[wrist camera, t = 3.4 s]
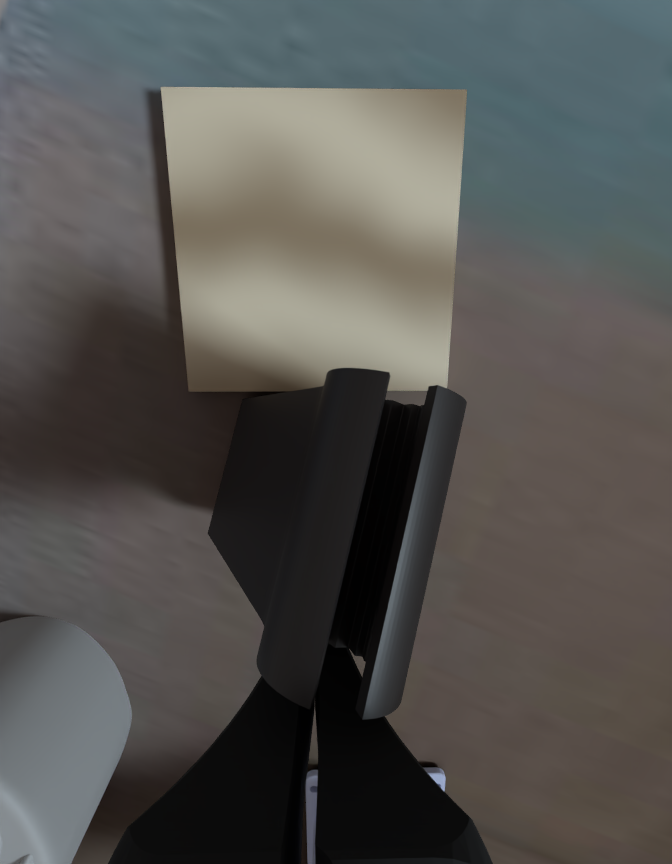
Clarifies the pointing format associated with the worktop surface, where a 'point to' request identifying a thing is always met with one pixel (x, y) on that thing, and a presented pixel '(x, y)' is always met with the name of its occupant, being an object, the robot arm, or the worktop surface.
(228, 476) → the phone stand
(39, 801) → the lumpy-topped squat cylinder
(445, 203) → the birch board
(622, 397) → the worktop surface
